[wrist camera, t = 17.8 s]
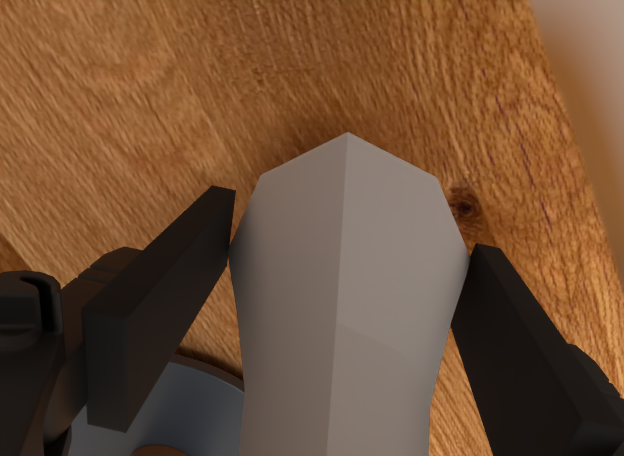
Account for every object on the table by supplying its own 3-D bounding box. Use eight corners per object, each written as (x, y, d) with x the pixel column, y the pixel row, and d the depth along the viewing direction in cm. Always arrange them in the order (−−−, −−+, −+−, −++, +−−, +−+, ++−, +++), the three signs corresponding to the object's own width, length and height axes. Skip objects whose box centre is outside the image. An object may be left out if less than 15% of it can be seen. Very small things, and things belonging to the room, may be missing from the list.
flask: (343, 372, 15) (319, 849, 6) (193, 244, 14) (-132, 630, 5) (511, 255, 13) (893, 782, 4) (348, 82, 11) (302, 237, 2)
